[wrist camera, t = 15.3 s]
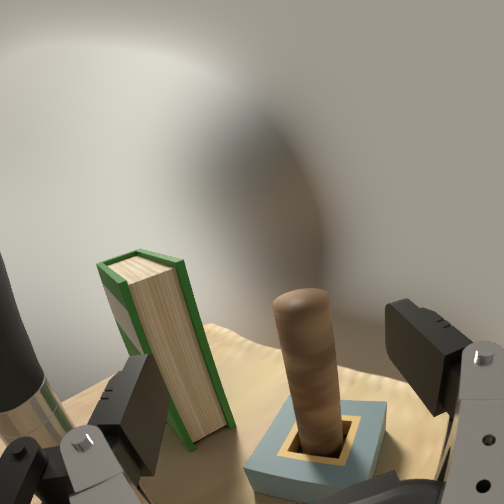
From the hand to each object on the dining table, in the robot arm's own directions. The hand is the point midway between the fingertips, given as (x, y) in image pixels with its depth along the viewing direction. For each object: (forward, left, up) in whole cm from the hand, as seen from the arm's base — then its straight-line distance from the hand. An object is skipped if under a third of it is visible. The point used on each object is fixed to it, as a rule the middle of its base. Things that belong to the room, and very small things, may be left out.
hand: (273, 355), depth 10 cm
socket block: (-4, +13, -25) cm, 29 cm away
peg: (-4, +13, -24) cm, 28 cm away
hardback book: (-27, +17, -25) cm, 41 cm away
